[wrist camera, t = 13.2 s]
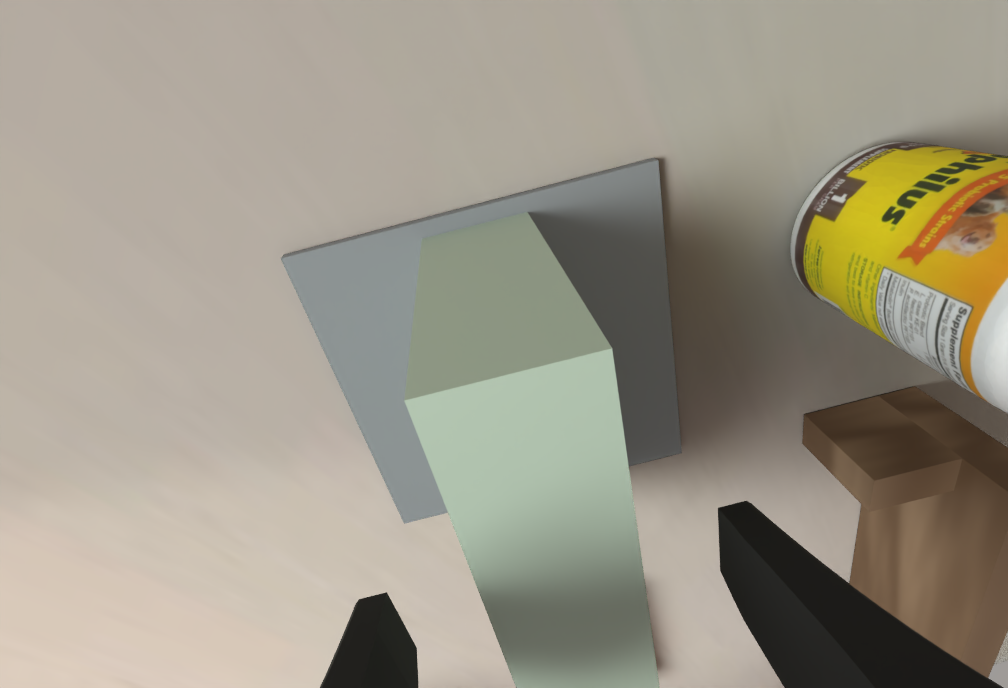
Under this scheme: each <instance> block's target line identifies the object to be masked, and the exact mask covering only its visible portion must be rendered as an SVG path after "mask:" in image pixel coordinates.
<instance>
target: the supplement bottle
mask: <svg viewBox="0 0 1008 688" xmlns="http://www.w3.org/2000/svg"><path fill="white" fill-rule="evenodd" d="M790 254H791V261H792V265H793V269H794V271H795V274H796V276H797V277H798V279H799V281H800V282H801V284H802V285H803V286H804V287H805V288H806V289H807V290H808V291H809V292H810V293H811V294H813V295H814V296H815V297H817V298H818V299H820V300H821V301H823V302H825V303H826V304H828V305H830V306H831V307H833V308H835V309H836V310H838V311H839V312H841V313H843V314H844V315H846V316H847V317H849V318H851V319H852V320H854V321H856V322H857V323H859V324H861V325H862V326H864V327H866V328H867V329H869V330H871V331H872V332H874V333H875V334H877V335H879V336H880V337H882V338H884V339H885V340H887V341H888V342H890V343H892V344H893V345H895V346H896V347H898V348H900V349H901V350H903V351H905V352H906V353H908V354H910V355H911V356H913V357H914V358H916V359H918V360H919V361H921V362H923V363H924V364H926V365H928V366H929V367H931V368H932V369H934V370H936V371H937V372H939V373H941V374H942V375H944V376H945V377H947V378H949V379H950V380H952V381H954V382H955V383H957V384H958V385H960V386H961V387H963V388H965V389H967V390H969V391H970V392H972V393H974V394H975V395H977V396H979V397H980V398H982V399H983V400H985V401H986V402H988V403H990V404H991V405H993V406H995V407H997V408H999V409H1001V410H1002V411H1004V412H1006V413H1008V156H1001V155H995V154H988V153H981V152H975V151H967V150H961V149H955V148H948V147H942V146H935V145H928V144H920V143H912V142H894V143H887V144H882V145H878V146H875V147H871V148H869V149H866V150H864V151H861V152H859V153H857V154H855V155H853V156H852V157H850V158H848V159H847V160H845V161H844V162H842V163H841V164H839V165H838V166H836V167H835V168H834V169H833V170H831V171H830V172H829V173H828V174H827V175H826V176H825V177H824V178H823V179H822V180H821V181H820V182H819V183H818V184H817V186H816V187H815V188H814V189H813V190H812V192H811V193H810V195H809V196H808V197H807V199H806V200H805V202H804V204H803V205H802V207H801V209H800V211H799V213H798V216H797V218H796V221H795V224H794V227H793V231H792V236H791V245H790Z"/></svg>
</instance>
